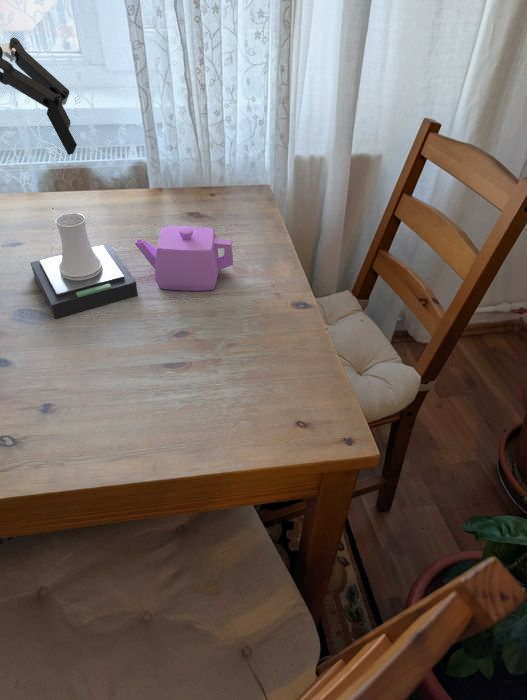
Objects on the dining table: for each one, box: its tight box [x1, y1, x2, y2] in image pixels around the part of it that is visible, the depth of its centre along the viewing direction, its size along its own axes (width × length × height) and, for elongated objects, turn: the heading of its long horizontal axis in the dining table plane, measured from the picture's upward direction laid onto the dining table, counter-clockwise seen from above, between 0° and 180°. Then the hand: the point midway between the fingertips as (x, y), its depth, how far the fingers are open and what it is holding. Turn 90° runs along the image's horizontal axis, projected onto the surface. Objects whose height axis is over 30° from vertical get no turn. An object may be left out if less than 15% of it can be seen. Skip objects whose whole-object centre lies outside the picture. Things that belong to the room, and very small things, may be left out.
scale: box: [30, 243, 139, 320], centre depth 97 cm, size 15×15×4 cm
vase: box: [54, 212, 103, 281], centre depth 92 cm, size 8×8×10 cm
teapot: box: [134, 225, 234, 292], centre depth 98 cm, size 18×10×10 cm, turn 91°
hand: (27, 161), depth 72 cm, fingers open, 13 cm apart
